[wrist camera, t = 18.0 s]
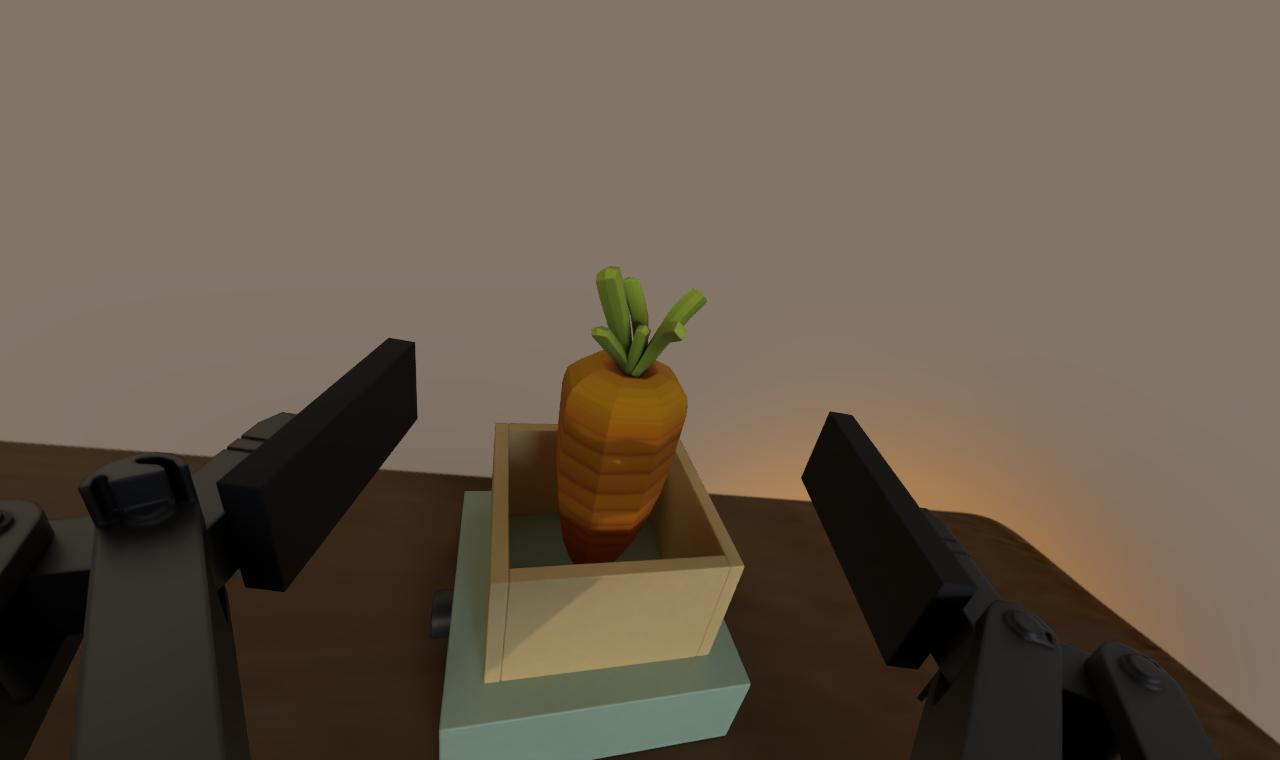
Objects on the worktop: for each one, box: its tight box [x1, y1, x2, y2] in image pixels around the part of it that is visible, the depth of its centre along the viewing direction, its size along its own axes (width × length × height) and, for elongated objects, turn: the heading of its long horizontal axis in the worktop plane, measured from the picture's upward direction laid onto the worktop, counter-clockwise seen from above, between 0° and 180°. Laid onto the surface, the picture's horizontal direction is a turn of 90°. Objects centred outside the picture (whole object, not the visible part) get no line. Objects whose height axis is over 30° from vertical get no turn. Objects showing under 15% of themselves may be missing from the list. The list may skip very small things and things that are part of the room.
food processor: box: [431, 423, 751, 760], centre depth 23 cm, size 13×12×10 cm
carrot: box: [556, 266, 707, 565], centre depth 20 cm, size 5×5×15 cm
